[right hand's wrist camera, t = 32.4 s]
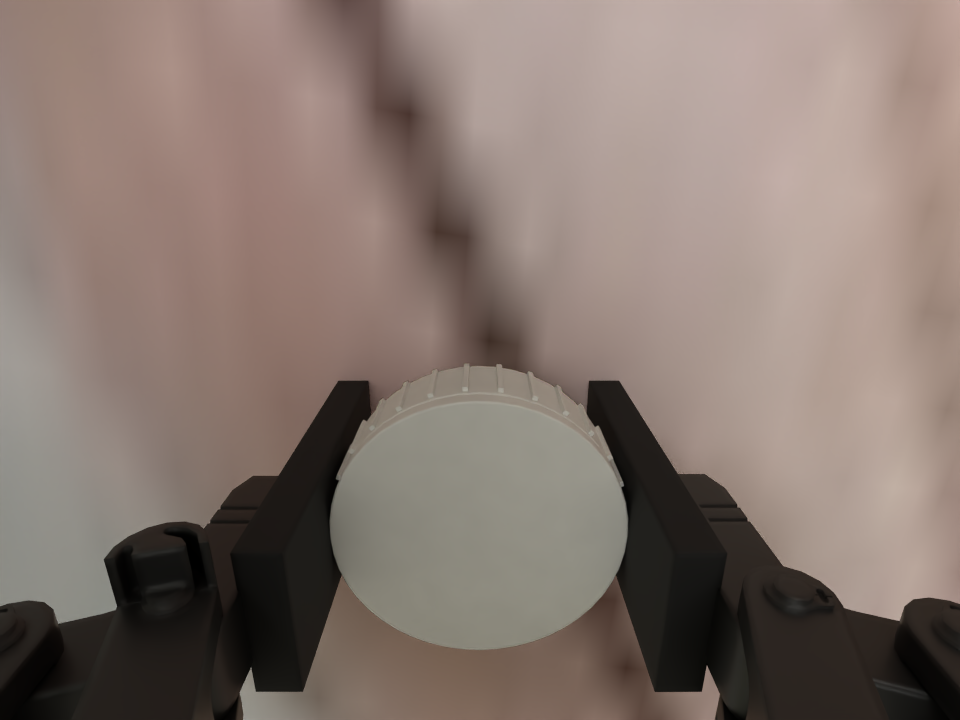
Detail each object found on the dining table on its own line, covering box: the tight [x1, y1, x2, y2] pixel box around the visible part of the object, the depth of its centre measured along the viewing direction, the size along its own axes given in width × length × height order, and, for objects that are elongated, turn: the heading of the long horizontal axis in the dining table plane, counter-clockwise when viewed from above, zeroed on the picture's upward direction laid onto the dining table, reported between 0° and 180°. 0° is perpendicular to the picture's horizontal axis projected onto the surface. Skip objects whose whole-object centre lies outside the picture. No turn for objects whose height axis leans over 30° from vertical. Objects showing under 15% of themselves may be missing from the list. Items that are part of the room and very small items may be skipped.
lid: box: [329, 363, 628, 650], centre depth 11 cm, size 6×6×2 cm
